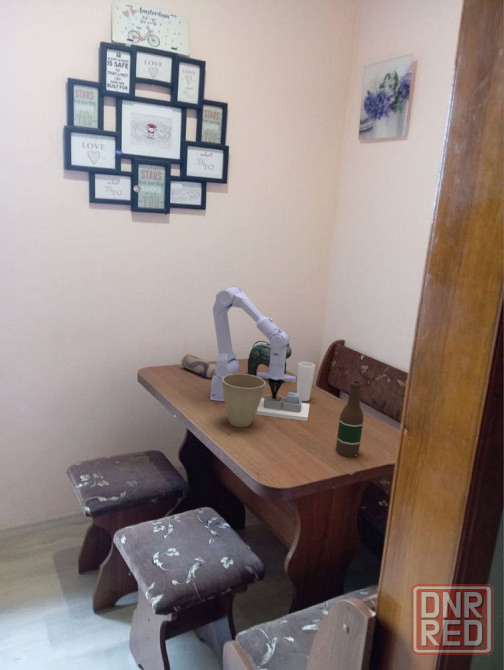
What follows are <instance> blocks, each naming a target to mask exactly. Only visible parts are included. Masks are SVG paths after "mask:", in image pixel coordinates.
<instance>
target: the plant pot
mask: <svg viewBox="0 0 504 670" xmlns="http://www.w3.org/2000/svg"><path fill="white" fill-rule="evenodd" d="M222 382H223V395H224V401H225V402H224V401H223V402H224V405H225V410H226V414H227V418H228V422H229V424H230V425H231V426H233V427H235V428H247V427H249V426H250V425H251V424H252V421H253V419H254V418H255V415H256V411H257V409H258V406H259V403H260V401H261V398H263V394H264V389H265V386H266V381H265V380H264V378H259V377H257V375H254V376H253V375H248V373H247V374H246V373H236V374H231V375H227V376H225V377H223V379H222Z"/></svg>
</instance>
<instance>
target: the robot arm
mask: <svg viewBox="0 0 504 670" xmlns="http://www.w3.org/2000/svg"><path fill="white" fill-rule="evenodd" d="M232 307H233V308H238V309H239V308H240V309H241V310H243V311H244V312H245V313H246V314H247V315H248V316H249V317H250V318H251V319H253V321H255V323H256V328H257V329H258V330H259V332H261V333H262V334H263V336H264V337H266V339H267V340H268V343H269V344H270V346H271V355H270V366H269V367H268V369H269V370H268V371H257V372H256V377H259V378H261V379H265V380H267V379H268V381H267V383H268V385H269V388H270V391H271V395H272V398H273V399H276V396H278V392H279V391H280V388H281V387H282V385H283V381H285V382H290V383H293V384H294V383H296V380H297V376H296V375H290V374H287V373H286V374H284V370H285V360H286V361H287V359H286V347H287V346H286V345H287V344H288V343H289V342H290V336H289V334H288V332H287V331H286V330H282V328H280V327H278V326H277V324H275V322H274V319H273V318H272V317H269V316H264V315H263V314H262V313H261V312H260V311H259V310H258V308H257V307H256V305H254V303H253V302H252V301H251V300H250V299H249V298H248V296H247V294H246V293H245V292H244V291H243V290H242V289H241V288H240V287H238V286H235V285H234V286H233V285H232V286H231V287H227V288H222V289H220V290H219V291H218V293H217V294H215V302H214V303H213V307H212V315H213V321H214V322H213V323H214V327H215V329H214V330H215V335H216V336H215V337H216V342H217V348H218V349H217V350H218V351H217V352H218V355H217V358H216V361H215V362H216V365H217V366H216V369H215V371H216V374H217V375H214V376H213V378H211V384H210V396H209V397H210V398H209V400H210V401H218V402H224V403H225V401H224V395H223V382H222V379H223V377H225V376H227V375H231V374H237V373H238V372H239V370H240V362H239V361H238V358H237V355H236V354H235V352H234V351H233V344H232V336H231V331H230V323H229V315H228V312H229V311H230V310H231V308H232Z"/></svg>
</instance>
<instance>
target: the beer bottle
mask: <svg viewBox="0 0 504 670" xmlns="http://www.w3.org/2000/svg"><path fill="white" fill-rule="evenodd" d="M362 387H363V384H362V382H360V381H359V380H352V381H351V382H350V389H349V390H350V391H349V395H348V400H347V403H346V405H345V406H344V407H343V408H342V411H341V412H340V416H339V420H338V421H339V422H338V428H337V429H338V430H337V434H336V435H337V436H336V446H335V452H336V451H337V452H338V453H337V452H336V453H337V454H339V455H340V454H341V456H342V455H345V456H344V457H347V456H350V457H349V458H352V457H351V456H354V457H356V456H355V455H357V456H359V451H360V446H361V439H362V432H363V424H364V411H363V409H362V407H361V404H360V403H361V402H360V401H361V391H362V390H361V388H362Z"/></svg>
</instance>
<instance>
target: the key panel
mask: <svg viewBox="0 0 504 670" xmlns="http://www.w3.org/2000/svg"><path fill="white" fill-rule="evenodd" d="M269 395H270V394H265V396H264V397H262V398H261V401H260V403H259V406H258V409H257V411H256V414H255V415H256V416H257V415H258V416H265V417H272V418H273V417H274V418H281V419H286V420H296V421H302V422H303V421H304V422H308V420H309V412H310V403H306V402H303V401H302V400H301V399H300V398H299V400H298V404H297V403H289V402H286V398H287V396H284V395H283V396H282V395H279V396H280V402H279V401H271V400H268V397H269Z"/></svg>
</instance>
